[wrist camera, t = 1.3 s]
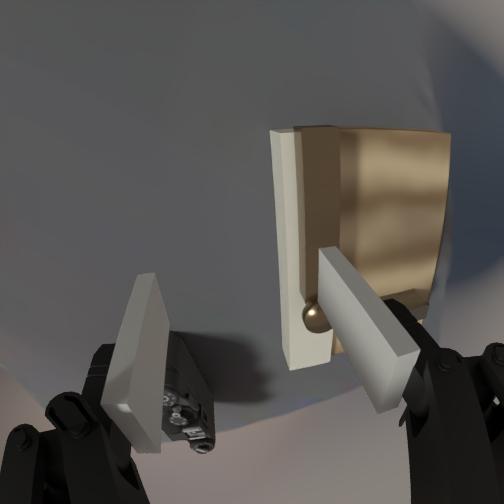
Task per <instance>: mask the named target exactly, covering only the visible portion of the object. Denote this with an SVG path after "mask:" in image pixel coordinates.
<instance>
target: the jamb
mask: <svg viewBox="0 0 504 504" xmlns="http://www.w3.org/2000/svg"><path fill="white" fill-rule="evenodd" d="M270 138H271V151H272V165H273V178H274V193H275V208H276V224H277V241H278V258H279V277H280V298H281V321H282V347H283V351H284V354H285V357H286V360H287V363H288V366H289V370H295V369H300V368H305V367H309V366H314V365H318V364H323V363H327V362H330V356H331V347H332V338H333V329H331V330H329V331H327V332H325V333H320V334H316V333H312V332H310V331H308V330H307V329H306V327H305V325H304V322H303V320H302V311H303V309H304V307H305V306H306V305H307V304H308V303H305V301H304V299H303V297H302V295H301V293H300V290H299V234H298V204H297V181H296V162H295V144H294V129H279V130H270Z"/></svg>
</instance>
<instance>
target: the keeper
mask: <svg viewBox="0 0 504 504" xmlns="http://www.w3.org/2000/svg"><path fill="white" fill-rule="evenodd" d="M379 298H380V299H381V300H382V301H383V300H387V299H391V298H393V299H395V300H397V301H398V302H400V303H402V304H404V305H405V306H406V308H407V309H408V310H409V311H410V312H411V313H412V315H413V316H414V317H415V318H416V319H417V320H418V321H419V320H422V319H425V318H426V315H427V311H428V308H429V304H428V303H427V302H426V301H425V299H424V298H423V297H422V296H421V295H420V294H419V293H418V292H417V291H416V290H415V289H410V290H406V291H402V292H398V293H394V294H389V295H385V296H381V297H379Z"/></svg>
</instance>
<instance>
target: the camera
mask: <svg viewBox="0 0 504 504" xmlns="http://www.w3.org/2000/svg"><path fill="white" fill-rule="evenodd" d="M161 429H162V430H163V431H164V432H165V433H166V435H167V436H168V437H169V438H170V439H171V440H172V441H177V440H187V441H188V442H189V443H190V447H191V449H193V450H194V451H196V452H197V453H200V454H205V453H207V452H209V451H211V450H212V449H214V446H215V424H214V403H213V396H212V392H211V390H210V389H209V387H208V386H207V384H206V382H205V380H204V378H203V377H202V375H201V373H200V371H199V369H198V367H197V366H196V364H195V362H194V360H193V358H192V356H191V354H190V353H189V351H188V349H187V347H186V345H185V343H184V341H183V340H182V338H181V336H180V335H179V334H177V333H175V332H171V331H169V336H168V346H167V357H166V368H165V380H164V393H163V409H162V427H161Z"/></svg>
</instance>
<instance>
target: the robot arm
mask: <svg viewBox="0 0 504 504" xmlns="http://www.w3.org/2000/svg"><path fill="white" fill-rule="evenodd" d="M318 303H319V305H320V306H321V308H322V310H323V312H324V314H325V316H326V317H327V319H328V321H329V323H330V325H331V326H332V328H333V330H334V332H335V334H336V336H337V338H338V339H339V341H340V343H341V345H342V347H343V349H344V351H345V352H346V354H347V356H348V358H349V360H350V362H351V364H352V366H353V367H354V369H355V371H356V373H357V375H358V377H359V379H360V381H361V383H362V385H363V386H364V388H365V390H366V392H367V394H368V396H369V398H370V400H371V402H372V404H373V406H374V408H375V410H376V412H377V413H378V414H379V413H382V412H385V411H388V410H391V409H393V408H396V407H398V405H399V403H400V401H401V398H402V397H403V398H404V400H405V402H406V403H407V407H406V409H405V411H404V413H403V415H402V417H401V419H400V421H399V427H400V426H402V425H403V423H404V421H406V430H407V439H408V451H409V465H410V482H411V504H504V344H502V343H497V342H496V343H491V344H489V345H488V346H486V349H485V351H484V353H483V355H481V356H473V357H462V356H461V355H460V354H459V353H458V352H457V351H455V350H452V349H449V348H440V347H439V345H438V344H437V343H436V342H435V341H434V339H433V338H432V337H431V336H430V334H429V333H428V332H427V331H426V330H425V329H424V327H423V326H422V325H421V324H420V323H418V320H417V319H416V318H415V317H414V316H413V315H412V313H411V312H410V311H409V310H408V309H407V308H406V306H405V305H404V304H402V303H400V302H398V301H397V300H395V299H393V298H391V299H387V300H383V301H382V300H381V299H380V298H379V296H378V295H377V294H376V293H375V291H374V290H373V289H372V288H371V287H370V286H369V284H368V283H367V282H366V281H365V280H364V278H363V277H362V276H361V275H360V274H359V273H358V271H357V270H356V269H355V268H354V267H353V266H352V264H351V263H350V262H349V261H348V260H347V259H346V257H345V256H344V255H343V254H342V253H341V252H340V251H339V250H338V248H337V247H336V246H333V247H326V248H319V274H318ZM169 327H170V323H169V320H168V316H167V313H166V310H165V306H164V303H163V300H162V296H161V293H160V289H159V285H158V282H157V278H156V274H155V272H154V273H147V274H139V275H137V278H136V281H135V284H134V287H133V290H132V293H131V296H130V299H129V302H128V305H127V308H126V312H125V315H124V318H123V321H122V324H121V328H120V331H119V334H118V338H117V341H116V343H115V344H102V345H101V347H100V348H99V349H98V350H97V351H96V353H95V354H94V356H93V359H92V362H91V365H90V367H91V368H89V371H88V374H87V376H88V377H87V378H86V381H85V384H84V387H83V391H82V394H81V395H80V394H79V393H75V392H72V391H71V392H63V393H61V394H59V395H57V396H55V397H54V398H53V399H52V400H51V401H50V402H49V404H48V405H47V407H46V411H45V416H46V417H47V419H48V420H49V421H50V422H51V423H52V424H53V425H54V427H55V428H56V429H54V430H50V431H45V432H40V433H39V432H38V431H37V430H36V428H34V427H33V426H32V425H29V424H21V425H19V426H17V427H15V428H14V429H13V430H12V431H11V432H10V434H9V436H8V438H7V443H6V446H5V451H4V456H3V461H2V466H1V471H0V504H150V502H149V500H148V497H147V495H146V492H145V490H144V487H143V484H142V482H141V479H140V476H139V473H138V470H137V467H136V464H135V462H134V461H133V459H132V458H131V456H130V453H131V446H132V447H133V448H134V449H135V450H136V452H137V453H161V427H162V409H163V393H164V380H165V368H166V357H167V346H168V336H169ZM495 397H497V398H498V400H499V402H500V403H499V405H497V404H495V402H494V401H493V400H494V399H495Z"/></svg>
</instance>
